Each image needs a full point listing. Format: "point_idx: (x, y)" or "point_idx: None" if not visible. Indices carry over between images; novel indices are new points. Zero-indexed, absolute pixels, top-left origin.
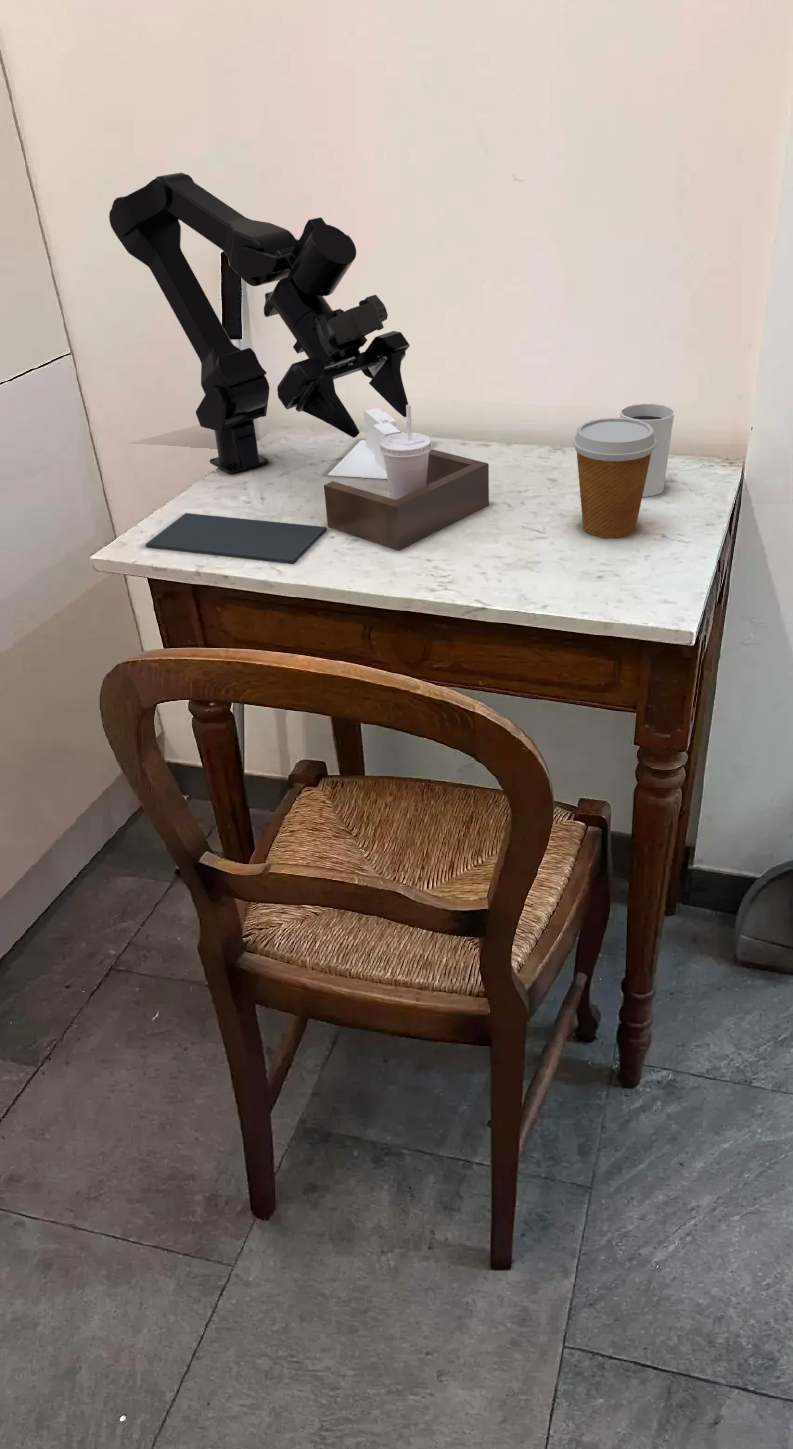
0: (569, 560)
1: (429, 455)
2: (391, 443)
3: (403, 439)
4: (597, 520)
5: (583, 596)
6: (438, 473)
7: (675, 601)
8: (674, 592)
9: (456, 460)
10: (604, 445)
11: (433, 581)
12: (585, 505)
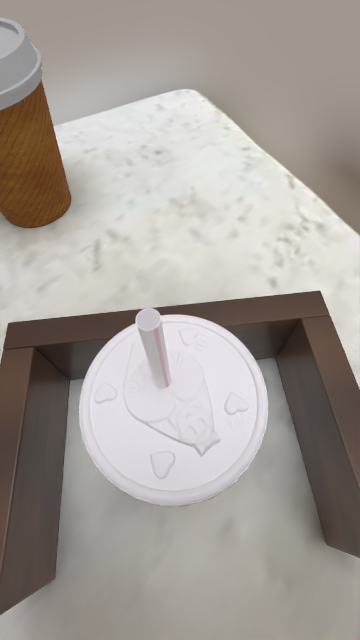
0: (145, 185)
1: (13, 500)
2: (221, 420)
3: (175, 401)
4: (65, 177)
5: (202, 141)
6: (40, 465)
7: (154, 105)
8: (140, 111)
9: (25, 392)
10: (27, 37)
11: (306, 240)
12: (56, 177)
